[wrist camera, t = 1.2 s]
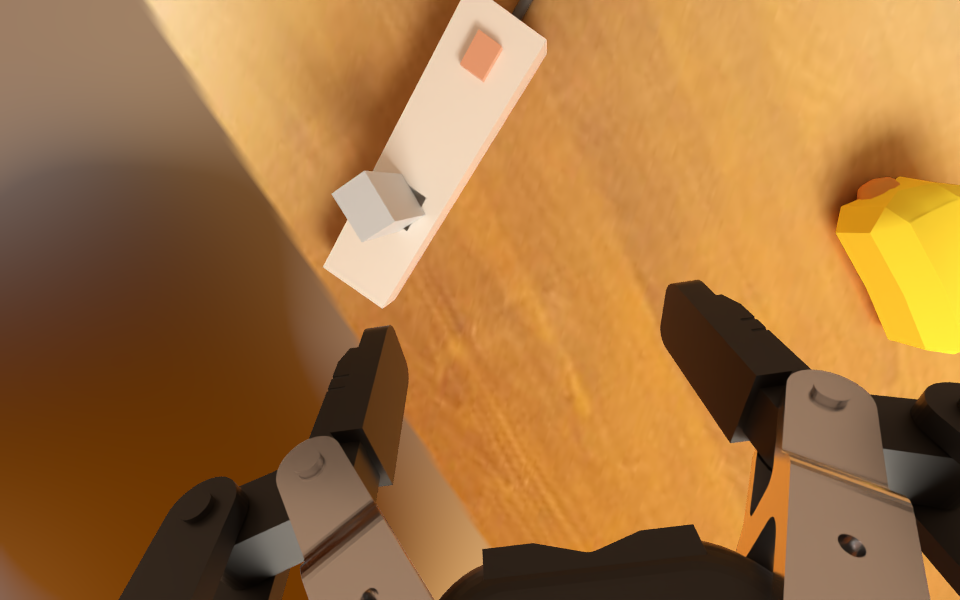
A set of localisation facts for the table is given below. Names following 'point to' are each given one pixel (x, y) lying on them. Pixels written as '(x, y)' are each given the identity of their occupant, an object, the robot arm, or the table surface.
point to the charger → (378, 204)
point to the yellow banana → (908, 257)
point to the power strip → (444, 136)
